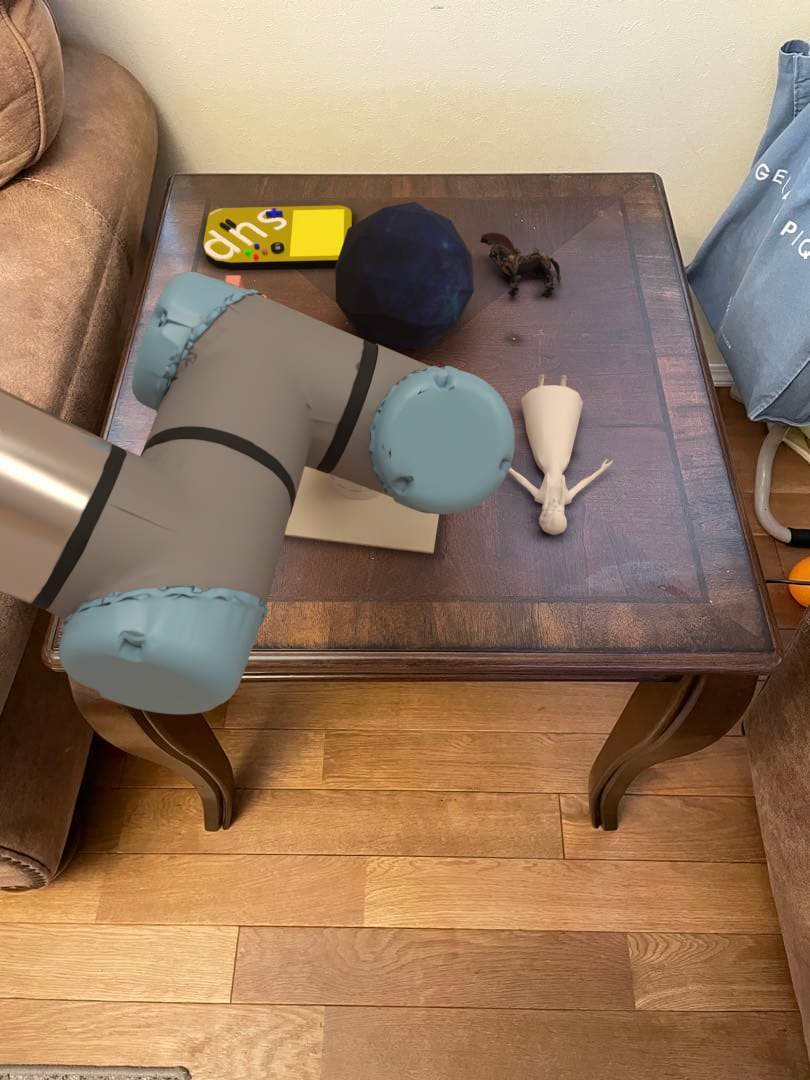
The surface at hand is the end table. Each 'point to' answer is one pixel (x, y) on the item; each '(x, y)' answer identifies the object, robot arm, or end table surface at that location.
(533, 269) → the horse figurine
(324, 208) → the game console
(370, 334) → the decorative orb
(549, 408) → the woman figurine
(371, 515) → the napkin
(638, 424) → the end table surface
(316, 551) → the end table surface
